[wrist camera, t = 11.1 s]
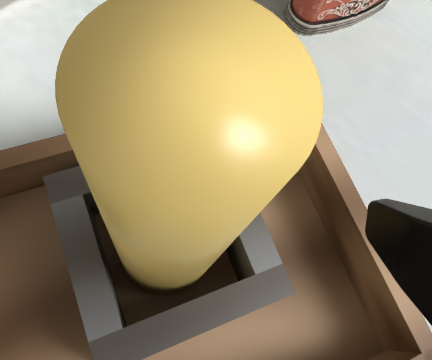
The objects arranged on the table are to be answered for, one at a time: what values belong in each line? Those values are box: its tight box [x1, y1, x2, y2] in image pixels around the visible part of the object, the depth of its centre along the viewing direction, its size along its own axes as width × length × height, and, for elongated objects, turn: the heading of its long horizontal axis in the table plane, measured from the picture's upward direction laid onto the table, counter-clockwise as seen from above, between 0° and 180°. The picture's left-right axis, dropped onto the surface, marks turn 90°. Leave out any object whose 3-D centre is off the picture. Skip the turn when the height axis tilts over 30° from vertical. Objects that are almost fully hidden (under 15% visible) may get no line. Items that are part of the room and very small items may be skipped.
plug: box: [55, 0, 323, 295], centre depth 12 cm, size 4×4×13 cm
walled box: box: [0, 123, 432, 360], centre depth 16 cm, size 14×17×4 cm
